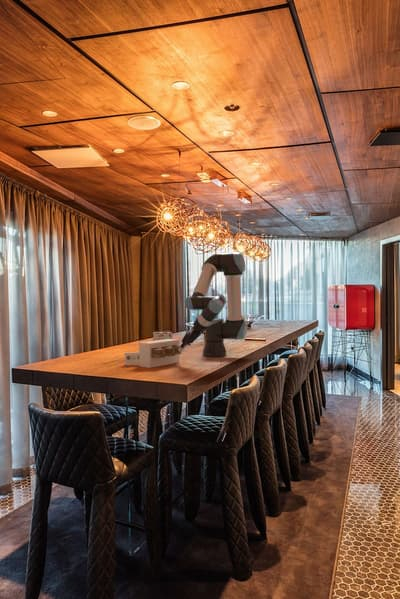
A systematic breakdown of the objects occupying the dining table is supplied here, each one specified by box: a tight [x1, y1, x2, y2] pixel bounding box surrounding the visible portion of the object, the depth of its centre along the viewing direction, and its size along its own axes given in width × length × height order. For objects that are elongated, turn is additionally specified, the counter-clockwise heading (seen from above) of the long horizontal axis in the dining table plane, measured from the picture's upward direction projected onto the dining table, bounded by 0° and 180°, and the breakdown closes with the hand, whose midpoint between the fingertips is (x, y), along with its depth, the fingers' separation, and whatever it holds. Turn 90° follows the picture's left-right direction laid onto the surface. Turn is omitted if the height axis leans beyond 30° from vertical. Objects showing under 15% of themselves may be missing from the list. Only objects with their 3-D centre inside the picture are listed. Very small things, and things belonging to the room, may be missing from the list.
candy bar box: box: [152, 331, 173, 341], centre depth 279 cm, size 11×5×16 cm, turn 76°
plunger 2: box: [172, 345, 182, 355], centre depth 264 cm, size 4×9×4 cm, turn 51°
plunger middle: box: [162, 347, 175, 357], centre depth 256 cm, size 4×9×4 cm, turn 51°
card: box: [124, 351, 139, 366], centre depth 257 cm, size 10×1×7 cm, turn 98°
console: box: [138, 338, 180, 369], centre depth 260 cm, size 24×8×13 cm, turn 141°
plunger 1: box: [151, 348, 165, 358], centre depth 250 cm, size 4×9×4 cm, turn 51°
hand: (179, 350), depth 260 cm, fingers closed
